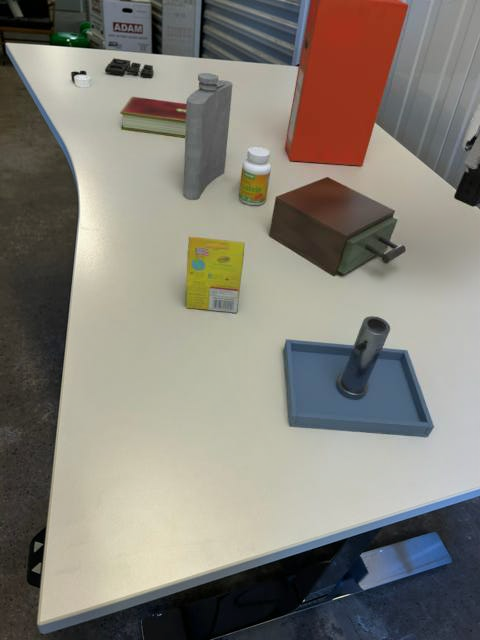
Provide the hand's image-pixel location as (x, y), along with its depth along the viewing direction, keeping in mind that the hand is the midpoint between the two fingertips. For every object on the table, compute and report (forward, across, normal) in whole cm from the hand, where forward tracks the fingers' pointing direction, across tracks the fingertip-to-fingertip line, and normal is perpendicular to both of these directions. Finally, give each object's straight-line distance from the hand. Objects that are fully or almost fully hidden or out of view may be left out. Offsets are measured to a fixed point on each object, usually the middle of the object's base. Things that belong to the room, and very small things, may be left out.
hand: (466, 200), depth 65 cm
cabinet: (+16, -1, +19) cm, 25 cm away
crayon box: (+16, -29, +18) cm, 38 cm away
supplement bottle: (+16, -1, +38) cm, 41 cm away
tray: (+16, -26, -4) cm, 31 cm away
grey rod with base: (+16, -26, -4) cm, 31 cm away
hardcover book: (+16, +8, +75) cm, 77 cm away
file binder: (+17, +28, +43) cm, 54 cm away
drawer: (+16, -1, +15) cm, 22 cm away
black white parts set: (+16, +17, +113) cm, 115 cm away
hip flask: (+16, -5, +48) cm, 51 cm away
